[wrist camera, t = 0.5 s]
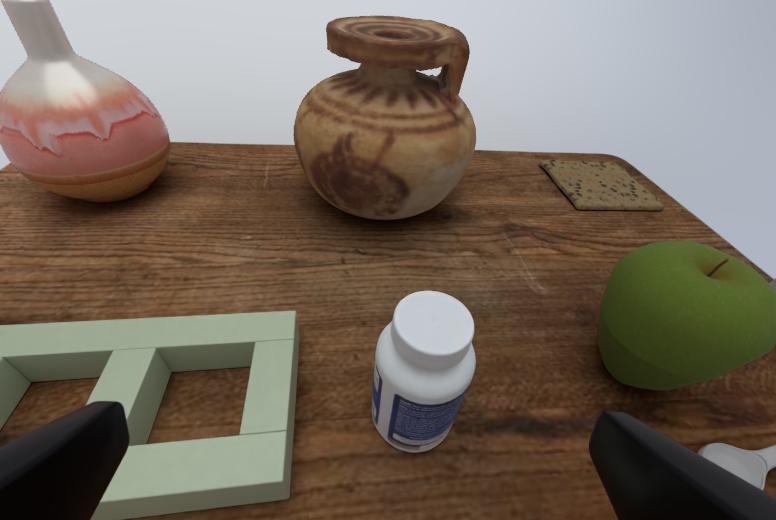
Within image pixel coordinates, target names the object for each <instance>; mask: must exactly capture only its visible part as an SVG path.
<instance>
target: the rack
mask: <svg viewBox="0 0 776 520" xmlns="http://www.w3.org/2000/svg"><path fill="white" fill-rule="evenodd" d="M299 340H300V334H299V327H298V320H297V313H296V311H279V312H259V313H239V314H219V315H199V316H179V317H159V318H139V319H119V320H99V321H79V322H59V323H39V324H19V325H0V430H1V429H2V427H3V426H4V424H5V423H6V421H7V419H8V418H9V416H10V415H11V413H12V412H13V410H14V409H15V407H16V406H17V404H18V403H19V401H20V400H21V398H22V396H23V395H24V393H25V392H26V390H27V389H28V387H29V386H30V384H31V382H39V381H53V380H67V379H81V378H95V377H100V378H99V380H98V382H97V384H96V386H95V388H94V390H93V392H92V394H91V396H90V398H89V400H88V402H87V404H86V405H88V404H90V403H92V402H95V401H118V402H120V403H121V404H122V405H123V406H124V410H125V415H126V420H127V425H128V430H129V435H130V442H129V447H128V449H127V452H126V454H125V456H124V458H123V460H122V461H121V463H120V465H119V467H118V469H117V471H116V473H115V475H114V477H113V478H112V480H111V482H110V484H109V486H108V488H107V490H106V492H105V493H104V495H103V497H102V499H101V501H100V503H99V505H98V507H97V508H96V510H95V512H94V514H93V516H92V518H91V520H123V519H131V518H139V517H147V516H155V515H163V514H171V513H180V512H188V511H196V510H204V509H212V508H220V507H229V506H237V505H245V504H253V503H261V502H269V501H278V500H286V499H289V497H290V482H291V466H292V450H293V435H294V419H295V404H296V388H297V372H298V356H299ZM237 367H251V369H250V375H249V381H248V387H247V393H246V399H245V405H244V410H243V416H242V422H241V428H240V435H239V436H228V437H218V438H207V439H197V440H187V441H176V442H166V443H155V444H147V441H148V438H149V435H150V432H151V429H152V426H153V424H154V421H155V418H156V415H157V412H158V409H159V406H160V404H161V401H162V398H163V395H164V392H165V389H166V386H167V384H168V381H169V378H170V375H171V372H181V371H195V370H209V369H223V368H237Z"/></svg>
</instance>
